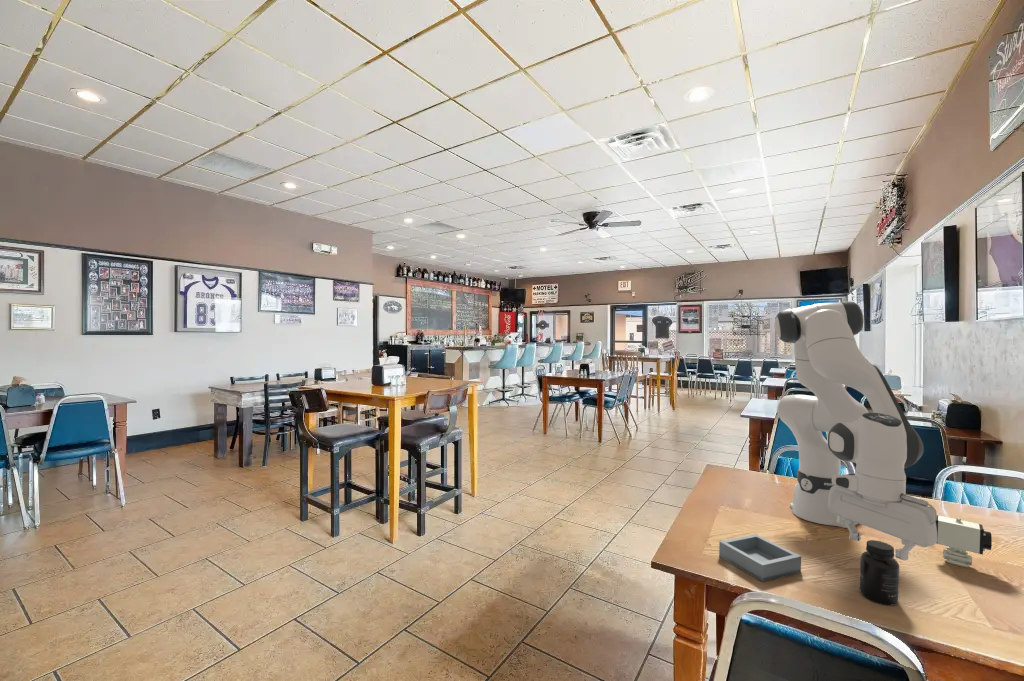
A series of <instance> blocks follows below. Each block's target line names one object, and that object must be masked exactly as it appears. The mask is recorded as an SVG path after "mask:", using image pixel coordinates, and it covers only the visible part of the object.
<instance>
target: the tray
mask: <svg viewBox="0 0 1024 681" xmlns="http://www.w3.org/2000/svg"><path fill="white" fill-rule="evenodd" d="M718 543H719V544H718V545H719V547H718V548H719V550H718V556H720V557H719V558H720V559H723V560H725V561H726V562H728V563H730V564H731V565H733V566H734V567H737V568H738V569H740V570H741V569H742V570H741V571H743V572H744V573H746V572H747V574H748V573H749V574H748V575H749V576H751V577H753V578H755V579H756V580H757V581H760V582H761V583H764V582H767V581H771V580H776V579H779V578H784V577H788V576H791V575H796V574H800V573H802V556H801V555H800V554H797V553H796V552H794V551H791V550H789V549H787V548H785V547H783V546H781V545H779V544H776V543H775V542H773V541H770V540H768V539H766V538H765V537H762V536H760V535H758V534H755V533H754V534H750V535H744V536H740V537H734V538H730V539H725V540H720V541H719V542H718Z"/></svg>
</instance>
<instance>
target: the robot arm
mask: <svg viewBox="0 0 1024 681" xmlns="http://www.w3.org/2000/svg"><path fill="white" fill-rule="evenodd" d="M864 316H865V315H864V312H863V311H862V309H861V307H860V306H859V305H858V303H856V302H854V301H848V300H847V301H846V300H845V301H844V300H843V301H840V302H822V303H821V302H820V303H815V304H811V305H805V306H804V305H803V306H800V307H795V308H792V309H791V308H787V309H783V310H781V311H779V312H778V313H777V315H776V316H775V320H774V331H775V334H776V335H777V337H778V339H779V340H780V341H782V342H783V343H788V344H793V354H794V363H795V364H794V366H795V374H796V379H797V381H798V382H799V383H800V385H801V386H804V387H805V388H807V389H808V390H810V391H811V392H812V394H814V395H808V394H790V395H788V394H787V395H785V396H783V397H782V398H781V399H779V401H778V403H777V406H776V412H777V415H778V418H779V419H780V420H781V422H782V423H784V424H785V425H786V426H787V427H788V429H789V430H790V431H791V432H792V435H793V436H794V438H795V440H796V443H797V446H798V462H799V463H798V464H799V465H798V469H797V473H796V480H797V482H796V484H795V485H794V491H793V497H792V502H790V503H789V507H790V508H791V512H792V513H793V515H795V516H796V517H798V518H800V519H803V520H805V521H808V522H811V523H816V524H821V525H826V526H835V527H839V528H842V529H843V528H844V529H847V531H848V532H849V534H848V535H849V536H848V537H849V539H850V540H853V541H855V542H860V541H861V540H862V538H861V537H862V532H859V531H858V529H857V527H856V525H858V524H860V525H863V526H866V527H867V528H871V529H874V530H875V531H878V532H882V533H884V534H887V535H889V536H891V537H895V538H897V539H901V545H903V546H902V548H897V549H894V558H896V559H899V560H901V561H903V562H904V561H907V560H908V559H909V552H910V551H912V549H914V547H915V546H916V545H917V546H919V547H922V548H928V547H933V546H935V545H936V543H937V528H936V518H937V514H938V512H937V509H936V508H935V507H934V506H933V505H932V504H930V503H929V501H927V500H925V499H921V498H916V497H913V496H911V495H907V494H906V489H907V486H906V485H907V474H906V473H905V472H906V471H905V469H906V468H907V469H908V468H910V467H912V466H914V465H915V464H916V463H918V461H919V460H920V459H921V457H922V456H923V455H924V451H925V450H924V449H925V448H924V447H925V446H924V443H923V440H922V439H921V436H920V434H918V432H917V431H916V429H915V428H914V427H913V426H912V425H911V423H910V422H909V420H908V418H907V416H906V414H905V413H904V411H903V409H902V407H901V405H900V403H899V401H898V399H897V397H896V396H895V395H894V392H893V390H892V388H891V386H890V384H889V383H888V381H887V379H886V377H885V375H884V374H883V373H882V370H880V369H879V368H878V367H877V366H875V364H872V363H871V362H870V361H869V360H868V359H867V358H866V357H865V356H864V355H863V353H862V352H861V351H860V349H859V347H858V345H857V341H856V338H855V336H856V335H858V334H859V333H860V332H861V331H862V330H863V327H864V323H865V317H864ZM844 386H847V387H849V388H852V389H853V390H856V391H857V392H859V393H861V395H863V396H864V397H865V398H866V400H867V401H868V403H869V405H870V408H871V410H872V412H870V411H868V409H867V408H866V407H865V405H864V404H862V403H860V402H859V401H858V400H856V399H855V397H853V396H852V395H851V394H850V393H849V392H848V391H847V389H846V388H845V387H844ZM823 433H827V434H828V436H827V439H826V437H825V436H824V435H823ZM841 461H844V462H847V463H855V464H856V466H855V469H854V473H848V474H846V473H845V474H841ZM937 544H938V543H937Z"/></svg>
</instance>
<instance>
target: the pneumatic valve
mask: <svg viewBox="0 0 1024 681" xmlns="http://www.w3.org/2000/svg"><path fill="white" fill-rule="evenodd" d="M936 528H937V543H936V544H937V545H941V546H945V548H944V549H942V553H943V555H942V558H943V559H944V560H945V561H946V563H948V564H949V565H954V566H958V567H961V566H962V567H961V568H965V567H966V568H969V567H968V566H972V565H973V556H972V555H969V554H968V552H970V553H974V554H978V555H983V556H984V552H985V551H986V550H988V551H992V543H993V541H992V540H993V539H992V537H993V536H992V532H991V531H986V530H985V528H984V527H983V524H981V523H976V522H971V521H967V520H963V519H962V518H961V517H955V518H952V517H946V516H944V515H943V516H942V515H937V518H936ZM936 544H935V545H936Z"/></svg>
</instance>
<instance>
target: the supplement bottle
mask: <svg viewBox="0 0 1024 681" xmlns="http://www.w3.org/2000/svg"><path fill="white" fill-rule="evenodd" d="M865 550H866V551H864V552H862V553H861V554H860V564H859V565H860V566H859V592H860V594H861V595H862V596H863V597H864V598H866V599H867V600H869V601H871V602H874V603H875V604H878V605H883V606H895V605H897V604H898V602H899V594H900V564H899V562H898V561H897V560H896V559H895V548H894V546H892V545H891V544H889V543H887V542H884V541H880V540H873V539H872V540H871V539H870V540H867V541H866V547H865Z"/></svg>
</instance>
